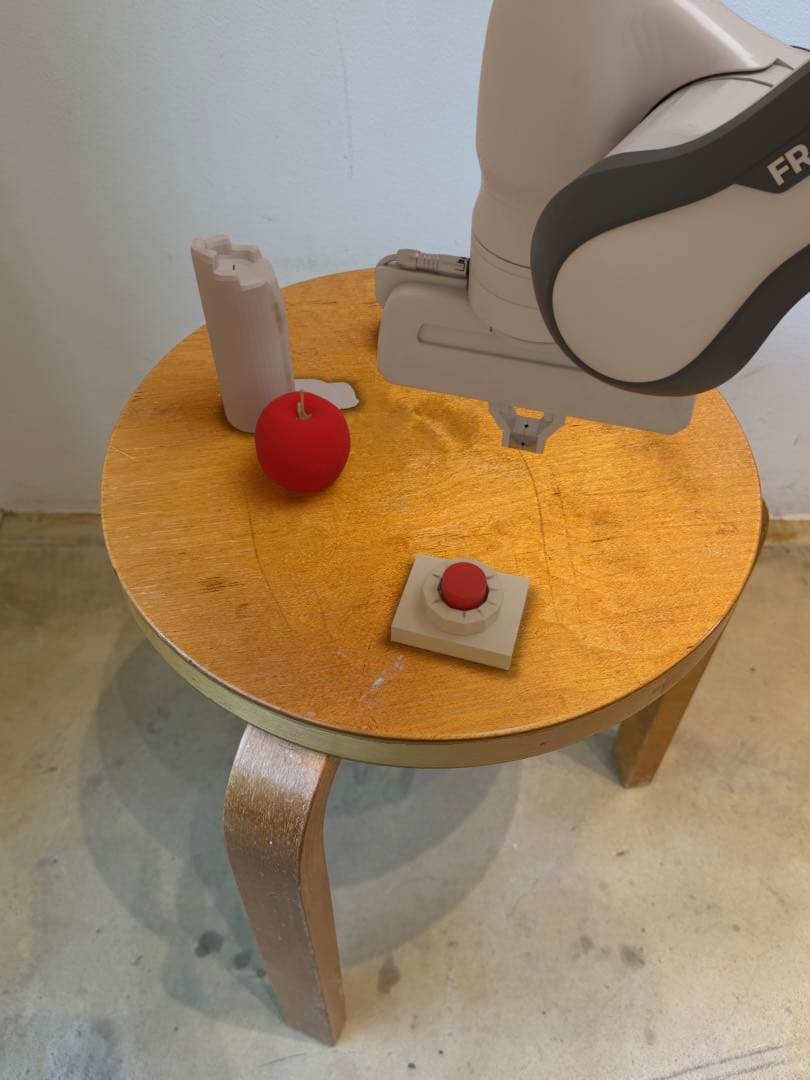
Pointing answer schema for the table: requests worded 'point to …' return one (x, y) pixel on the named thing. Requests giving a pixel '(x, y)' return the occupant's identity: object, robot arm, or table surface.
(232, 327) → the candle
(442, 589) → the power button
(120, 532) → the table surface
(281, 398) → the fruit
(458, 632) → the switch box
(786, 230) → the robot arm
